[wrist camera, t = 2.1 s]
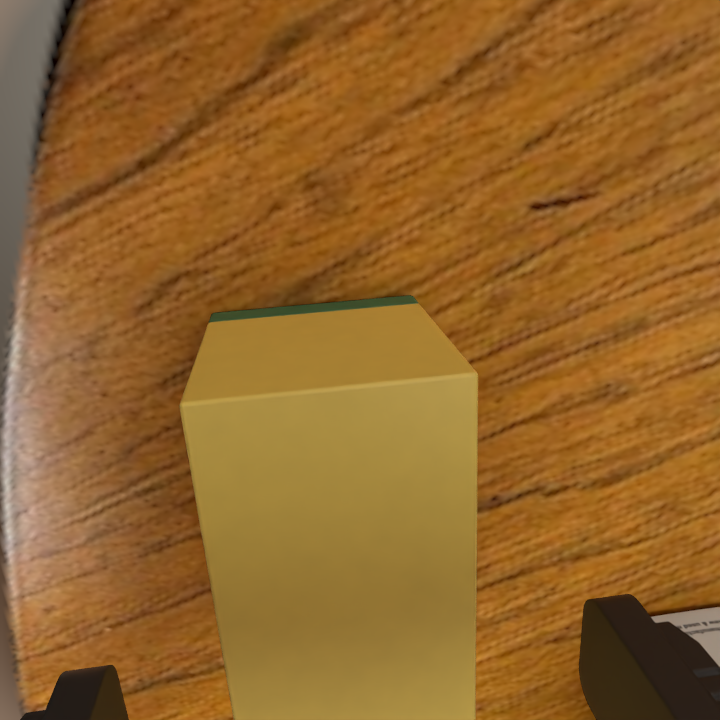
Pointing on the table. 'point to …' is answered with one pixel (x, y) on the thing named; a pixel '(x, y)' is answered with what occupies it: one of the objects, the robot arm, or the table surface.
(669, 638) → the robot arm
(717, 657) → the ink box
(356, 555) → the sponge
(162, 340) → the table surface
